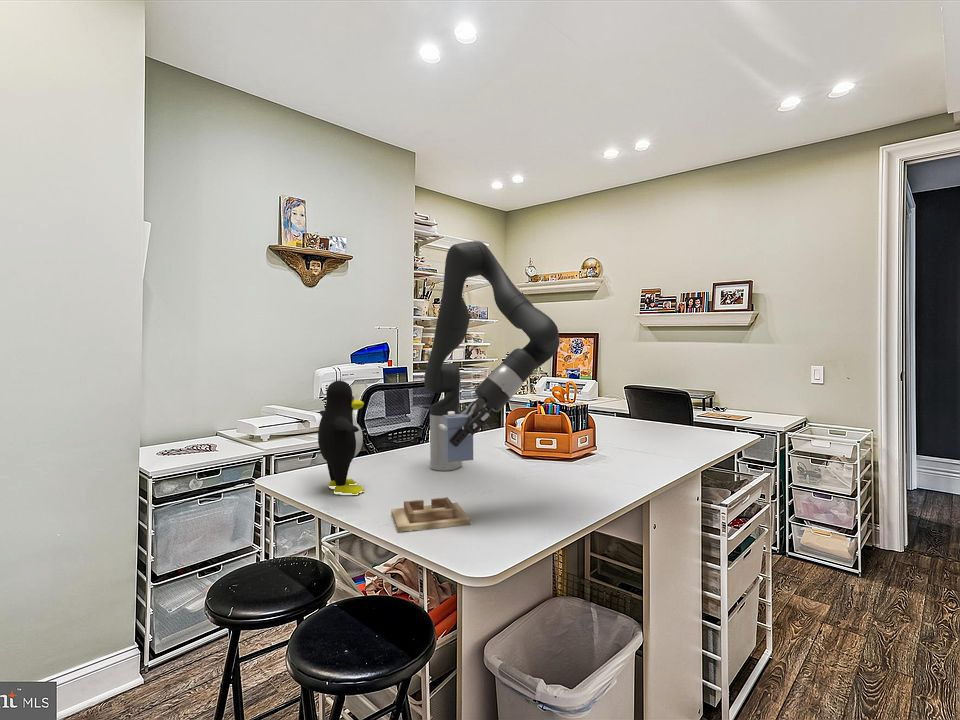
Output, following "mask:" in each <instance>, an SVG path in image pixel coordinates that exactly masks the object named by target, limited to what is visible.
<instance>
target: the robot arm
mask: <svg viewBox="0 0 960 720" xmlns="http://www.w3.org/2000/svg"><path fill="white" fill-rule="evenodd" d="M444 263H445V264H444V275H443V285H442V294H441V299H440V306H439V310H438V315H437V319H436V324H435V329H434V330H435V331H434V335H433V342H432V347H431V351H430V355H429V356H428V359H427V363H426V368H425V371H424V377H423V378H424V379H423V381H424V388H425V390H426V391H427V392H428V393H433V394H444V393H446V395H445V397H443V398H442V399H440V400H439V401H437V402H435V403H433V404H431V405H430V406H429V449H430V451H429V453H430V454H429V455H430V459H429V460H430V461H429V462H430V469H432V470H433V471H439V472H440V471H445V472H446V471H447V472H448V471H454V470H457V469H460V468H462V467H463V461H457V462H447V461H446V460H445V459H444V458H443V430H442V429H441V428H440V427H439V424H443V415H448V412H449V411H454V412H455V414H467V416H466V422H465V423H464V424H463V425H462V426H461V429H459V430H458V431H457V432H456V433H455V434H454V435H453V437H452V438H451V439H450V440H449V441H450V443H451V444H452V445H454V446H455V447H457V446H458V445H459V444H460V443H461V442H462V441H463V440H464V438H465V437H466V436H467V435H468V436H469V435H470V434H472V435H473V436H474V435H475V434H476V433H477V432H478V431H480V429H481V428H482V427H484V426H485V425H486V424H487V423H488V422H489V421H491V419H492V416H491V415H490V412H491V411H493V412H496V413H499V412H500V411H501V410H502V409H503V408H504V406H505V405H507V403H508V402H509V401H510V400H511V399H512V398H513V397H514V396H515V394H517V392H518V391H519V389H520V388H521V386H522V385H523V384H524V383H525V381H526V380H527V379H528V378H529V377H530V376H531V375H532V374H533V373H534V371H535V370H537V369H538V368H540V367H541V366H543V365H544V364H545V363H546V362H548V361H549V360H551V358H553V356H554V355H555V353H556V352H557V351H558V349H559V348H560V345H561V342H560V341H561V340H560V333H559V329H558V326H557V324H556V323H555V321H553V319H552V318H551V317H550V316H549V315H547V314H546V313H545V312H543V311H541V310H540V309H539V308H537V307H535V305H534V304H533V303H532V302H531V301H530V300H529V299H528V298H527V297H526V296H525V295H524V294H523V293H522V292H521V291H520V290H519V289H518V288H517V287H516V285H515V284H514V283H513V281H511V279H510V278H509V276H508V275H507V273H506V272H505V270H504V269H503V267H502V266H501V264H500V263H499V262H498V260H497V258H496V257H495V256H494V254H493V252H492V251H491V250H490V249H489V247H488V246H487V245H486V244H485V243H483V242H482V241H480V240H472V241H467V242H459V243H455V244H453V245H452V246H450V247H449V248H448V251H447V252H446V257H445V262H444ZM478 276H481V277H482V278H484V279H485V280H486V281H487V282H489V284H490V286H491V287H492V291H493V298H494V299H493V300H494V302H495V306H496V307H497V309H498V310H499V311H500V313H501V314H502V315H503V316H504V317H505V318H506V319H507V321H509V323H511V325H513V327H515V328H516V329H519V330H521V331H522V332H523V333H524V334H525V335H526V336H527V337H528V339H529V342H528V343H527V344H526V345H525V346H523V347H522V348H519V347H518V348H515V349H514V350H512V351H511V352H510V353H509V354H508V355H507V356H506V357H505V358H504V360H503V361H502V362H500V364H499V365H497V367H495V368H494V369H493V370H492V371H491V372H490V373H489V374H488V375H487V376H486V377H485V378H484V380H483V381H482V382H481V383H480V384H479V385H478V386H477V387H476V388H475V390H474V393H475V395H476V396H477V398H476V399H475V400H474V401H472V402H469V401H468V402H466V403H465V404H464V406H463V407H462V408H461V410H460V395H461V394H460V393H461V371H460V367H459V366H458V364H457V363H454V362H453V363H444V362H445V361H446V359H447V358H448V357H449V356H450V355H451V354H452V353H453V352H454V351H455V350H456V349H457V348H458V347H460V345H461V344H462V343H463V341H464V340H465V338H466V336H467V334H468V333H467V332H468V329H469V324H470V320H471V319H470V317H471V316H470V315H471V314H470V312H469V309H468V305H467V303H466V302H465V300H464V298H463V293H464V287H465V283H466V281H467V279H468V278H473V277H478ZM471 417H472V418H473V419H471ZM471 425H472V427H471Z"/></svg>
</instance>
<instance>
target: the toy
mask: <svg viewBox="0 0 960 720" xmlns="http://www.w3.org/2000/svg"><path fill="white" fill-rule="evenodd" d="M325 394H326V395H325V396H326V401H325V403H326V404H325V408H324V410H320V411H319V414H320V416H321V418H320V421H319V425H318V430H317V431H318V434H317V443H318V444H317V445H318V448H319V452H320V454H321V456H322V458H323V459H324V460H325V461H326V466H327V469H328V470H327V471H328V474H329V479H330V482H329V484H328V485H329V486H336V487H335V489H333V491H335V492H342V493H352V494H357V493H359V492H360V491H364V490H365V489H364V488H363V487H362V485H360V484H357V485H349V484H355V483H357V482H356V481H354V479H353V478H348V473H349V469H350V466H351V463H352V462H353V460H354V458H356V456H357V455H358V454H359V453H360V451H361V449H362V447H363V443H364V441H363V440H364V438H363V437H364V435H363V431H362V428H361V426H360V425H359V423H357V419H356V416H355V414H354V411H355V410H356V411H357V410H360V409H362V408H363V407H364V405H365V403H364V401H362V400H359V399H357V398H356V399H355V397H354V395H353V390H352V387H351V386H350V385H349V383H347V382H346V381H344V380H334V381H333V382H331V383H330V384H329V385H328V387H327V389H326V393H325Z"/></svg>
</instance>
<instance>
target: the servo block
mask: <svg viewBox="0 0 960 720" xmlns="http://www.w3.org/2000/svg"><path fill="white" fill-rule="evenodd" d="M466 416H467V414H455V412H454V411H449V412H448V415H443V424H439V427H440V428H441V429H442V430H443V458H444V459H445V460H446V461H447V462H457V461H462V462H466V461H474V435H472V434H470V435H469V436H468V435H467V436H466V437H465V438H464V440H463V441H462V442H461V443H460V444H459V445H458V446H457V447H455V446H454V445H452V444H451V443H450V441H449V440H450V439H451V438H452V437H453V435H454V434H455V433H456V432H457V431H458V430H459V429H461V426H462V425H463V424H464V423H465V422H466ZM471 419H473V418H472V417H471ZM471 427H472V425H471Z"/></svg>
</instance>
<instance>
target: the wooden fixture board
mask: <svg viewBox="0 0 960 720" xmlns="http://www.w3.org/2000/svg"><path fill="white" fill-rule="evenodd" d="M424 501H425V500H424V499H417V500H407V501H405V500H404V501H403V507H400V508H399V507H398V508H391V512H390V513H392V515H391V517H392V516H393V517H392V520H393V519H394V520H393V523H394V522H395V523H394V525H395V524H396V526H395V528H396V527H397V529H396V531H397V530H398V531H397V533H398V532H400V533H403V532H402V531H409V532H411V531H410V530H418V531H425V530H424V529H426V530H435V529H442V528H451V527H460V526H461V527H462V526H468V525H469V526H470V525H471V521H472V520H471V518H470V517H469V515H468V514H467V512H466V511H465V510H464V509H463V507H462V506H461V505H460V504H459V502H452V501H451V500H450V499H449V497H437V498H431V500H430V501H431V503H430V505H429V504H428V505H424V504H425V502H424Z"/></svg>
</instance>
